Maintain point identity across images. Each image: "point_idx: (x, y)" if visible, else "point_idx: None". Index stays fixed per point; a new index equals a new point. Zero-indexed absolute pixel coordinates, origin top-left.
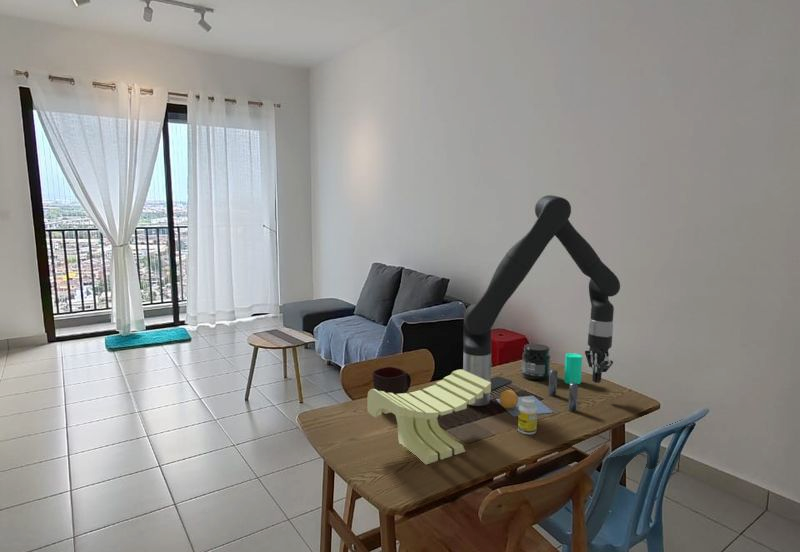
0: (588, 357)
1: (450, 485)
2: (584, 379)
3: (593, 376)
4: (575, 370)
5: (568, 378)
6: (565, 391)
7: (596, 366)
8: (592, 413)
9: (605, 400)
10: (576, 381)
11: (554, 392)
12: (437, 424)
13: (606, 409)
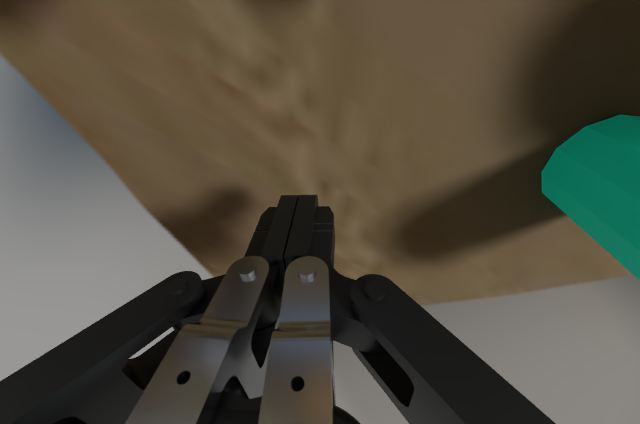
0: (457, 413)
1: None
2: (577, 241)
3: (299, 219)
4: (634, 209)
5: (627, 136)
6: (491, 18)
7: (220, 320)
8: (97, 13)
9: (295, 192)
10: (559, 174)
11: None
12: None
13: (179, 136)
